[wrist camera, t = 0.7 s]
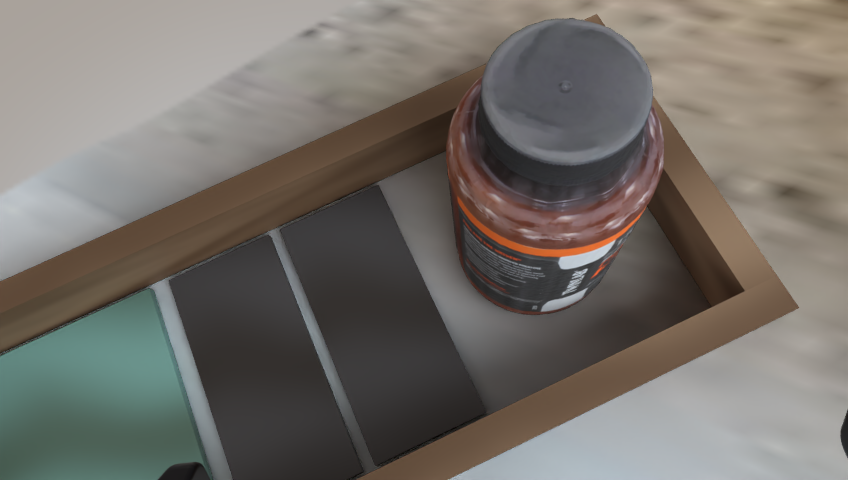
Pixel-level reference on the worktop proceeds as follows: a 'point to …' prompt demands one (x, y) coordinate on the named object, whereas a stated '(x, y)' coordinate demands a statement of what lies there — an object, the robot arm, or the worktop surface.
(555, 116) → the supplement bottle
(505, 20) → the worktop surface
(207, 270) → the wooden serving tray
